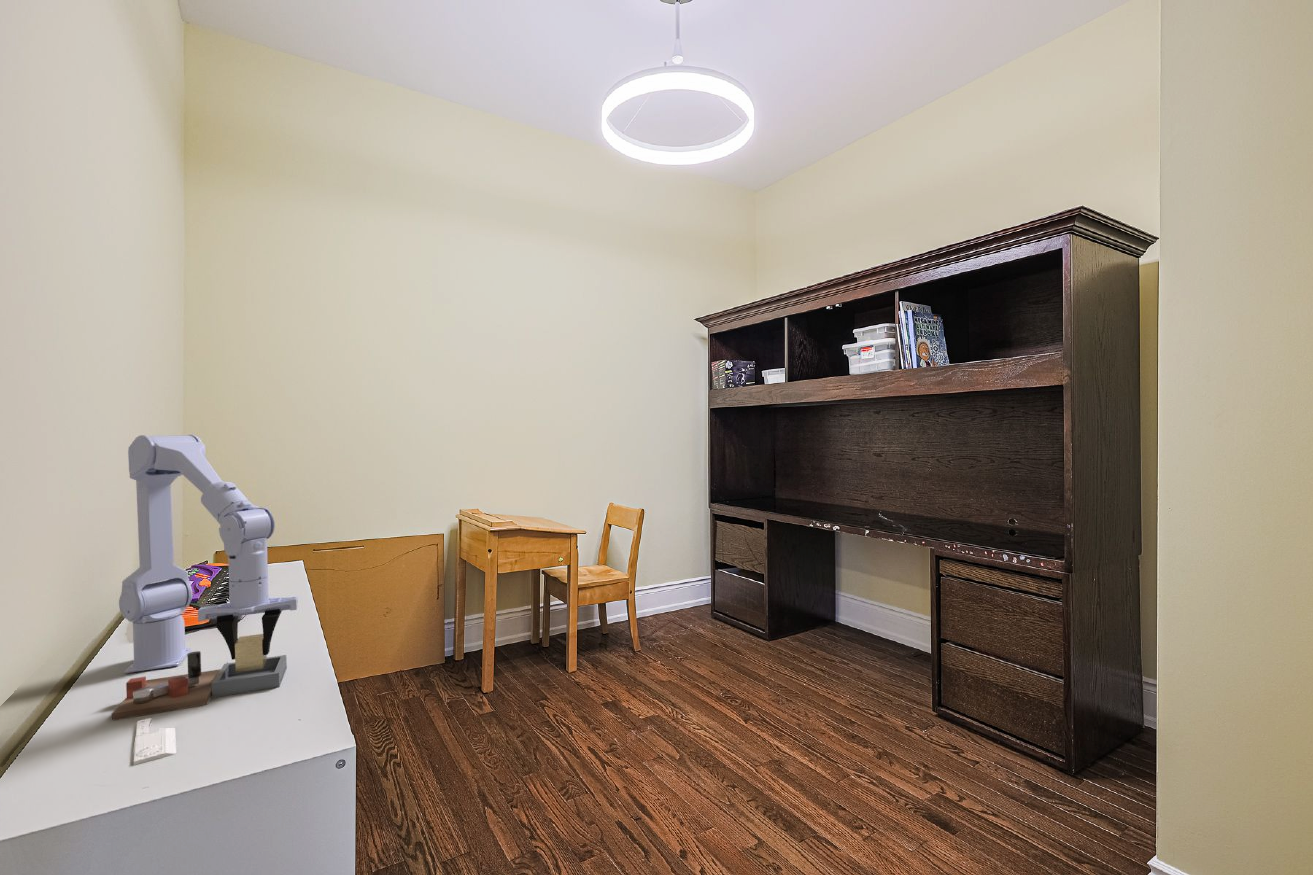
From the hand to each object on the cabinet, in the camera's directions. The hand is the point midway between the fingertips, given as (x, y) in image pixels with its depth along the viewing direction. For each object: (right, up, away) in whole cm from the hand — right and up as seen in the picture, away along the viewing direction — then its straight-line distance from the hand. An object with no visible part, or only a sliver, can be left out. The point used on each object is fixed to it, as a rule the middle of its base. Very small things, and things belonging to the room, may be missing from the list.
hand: (250, 655), depth 109 cm
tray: (0, -5, 0) cm, 5 cm away
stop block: (0, -2, 0) cm, 2 cm away
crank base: (-10, -5, -5) cm, 12 cm away
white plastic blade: (-1, -6, -20) cm, 20 cm away
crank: (-9, -4, -7) cm, 12 cm away
